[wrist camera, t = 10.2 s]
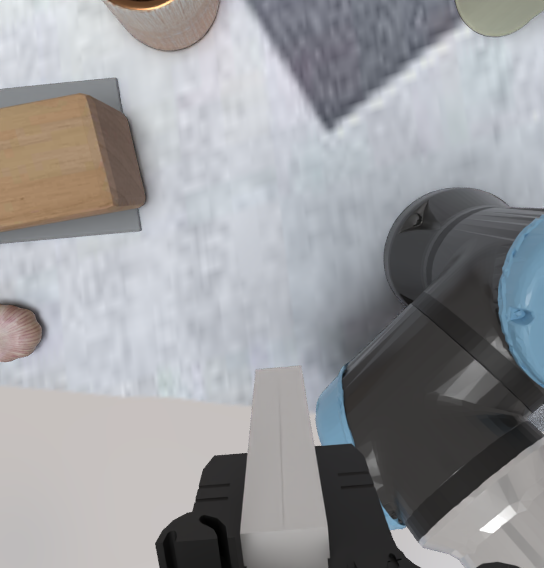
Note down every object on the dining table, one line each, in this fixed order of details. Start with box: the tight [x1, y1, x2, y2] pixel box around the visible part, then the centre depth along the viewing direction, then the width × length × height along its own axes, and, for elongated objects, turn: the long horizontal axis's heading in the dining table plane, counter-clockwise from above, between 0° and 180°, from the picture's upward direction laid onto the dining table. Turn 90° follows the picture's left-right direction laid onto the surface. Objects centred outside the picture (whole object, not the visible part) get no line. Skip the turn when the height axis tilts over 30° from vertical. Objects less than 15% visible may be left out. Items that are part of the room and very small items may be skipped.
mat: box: [0, 78, 141, 244], centre depth 45 cm, size 20×16×1 cm
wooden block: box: [0, 93, 146, 232], centre depth 40 cm, size 10×10×20 cm
